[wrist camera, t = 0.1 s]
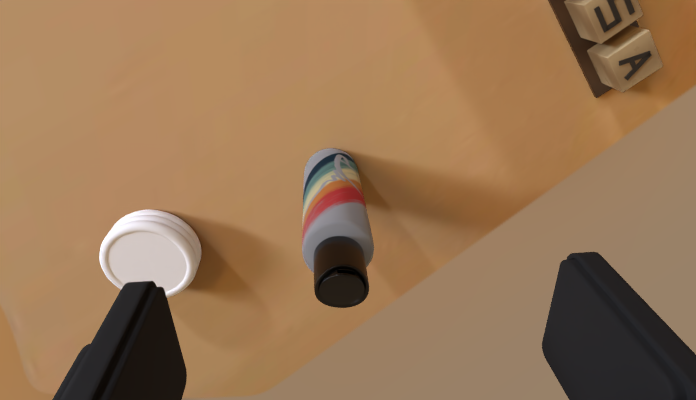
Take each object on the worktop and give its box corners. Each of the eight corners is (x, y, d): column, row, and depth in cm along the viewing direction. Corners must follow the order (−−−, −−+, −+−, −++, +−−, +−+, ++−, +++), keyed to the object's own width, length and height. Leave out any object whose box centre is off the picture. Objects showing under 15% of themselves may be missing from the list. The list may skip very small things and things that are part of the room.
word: (546, -3, 43) (568, 1, 39) (607, -47, 41) (635, -47, 38) (594, 97, 48) (618, 109, 44) (650, 60, 46) (679, 69, 43)
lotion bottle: (363, 152, 49) (392, 265, 31) (350, 199, 51) (371, 328, 34) (309, 142, 48) (309, 253, 30) (299, 190, 50) (293, 318, 33)
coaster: (146, 190, 49) (135, 206, 46) (220, 245, 53) (215, 264, 50) (91, 246, 52) (77, 265, 49) (165, 295, 56) (157, 315, 53)
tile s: (563, 1, 43) (584, 5, 39) (604, -28, 42) (628, -26, 39) (580, 37, 44) (601, 44, 41) (619, 10, 43) (644, 15, 40)
